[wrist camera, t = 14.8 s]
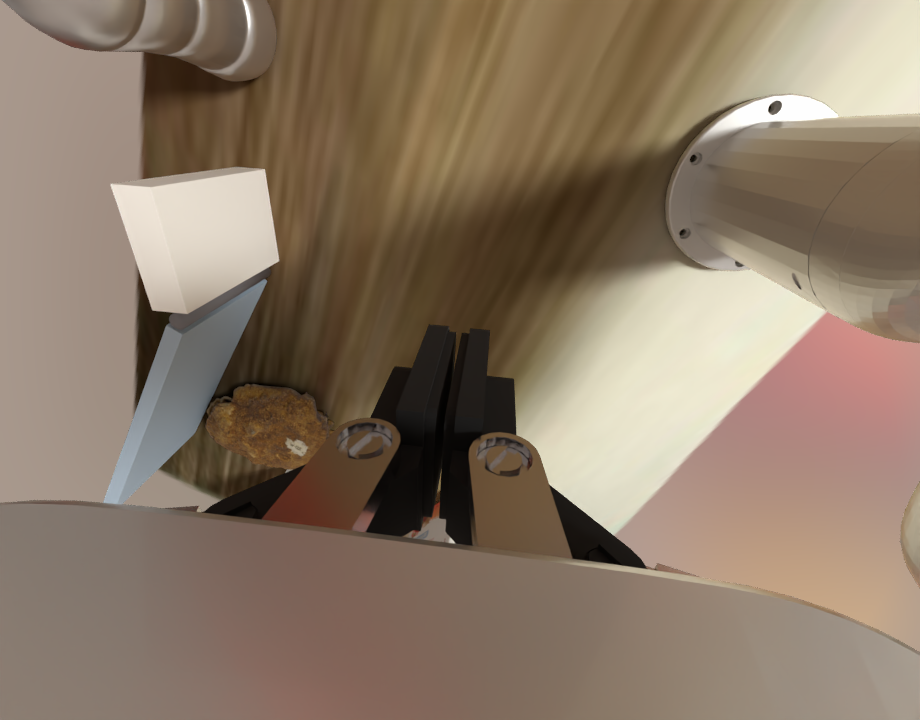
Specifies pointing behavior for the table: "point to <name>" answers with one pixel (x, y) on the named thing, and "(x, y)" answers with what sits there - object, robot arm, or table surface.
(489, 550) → the robot arm
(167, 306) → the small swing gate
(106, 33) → the plastic bottle
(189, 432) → the door
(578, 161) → the table surface
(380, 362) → the table surface
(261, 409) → the decorative rock
